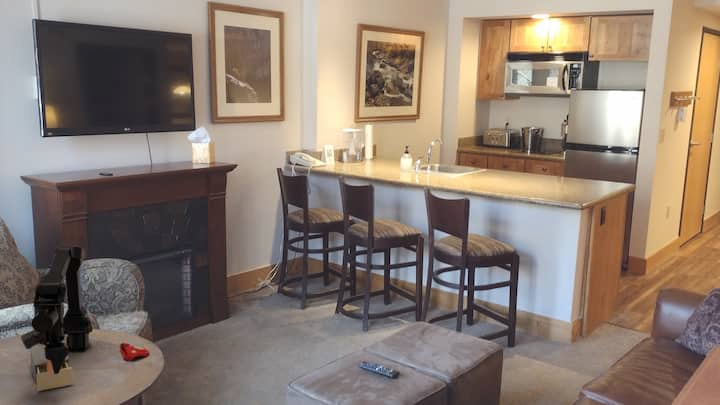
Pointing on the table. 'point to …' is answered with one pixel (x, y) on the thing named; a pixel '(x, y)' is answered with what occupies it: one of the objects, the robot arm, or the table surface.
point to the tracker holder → (132, 351)
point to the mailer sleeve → (40, 359)
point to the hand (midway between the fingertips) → (54, 367)
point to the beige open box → (53, 376)
